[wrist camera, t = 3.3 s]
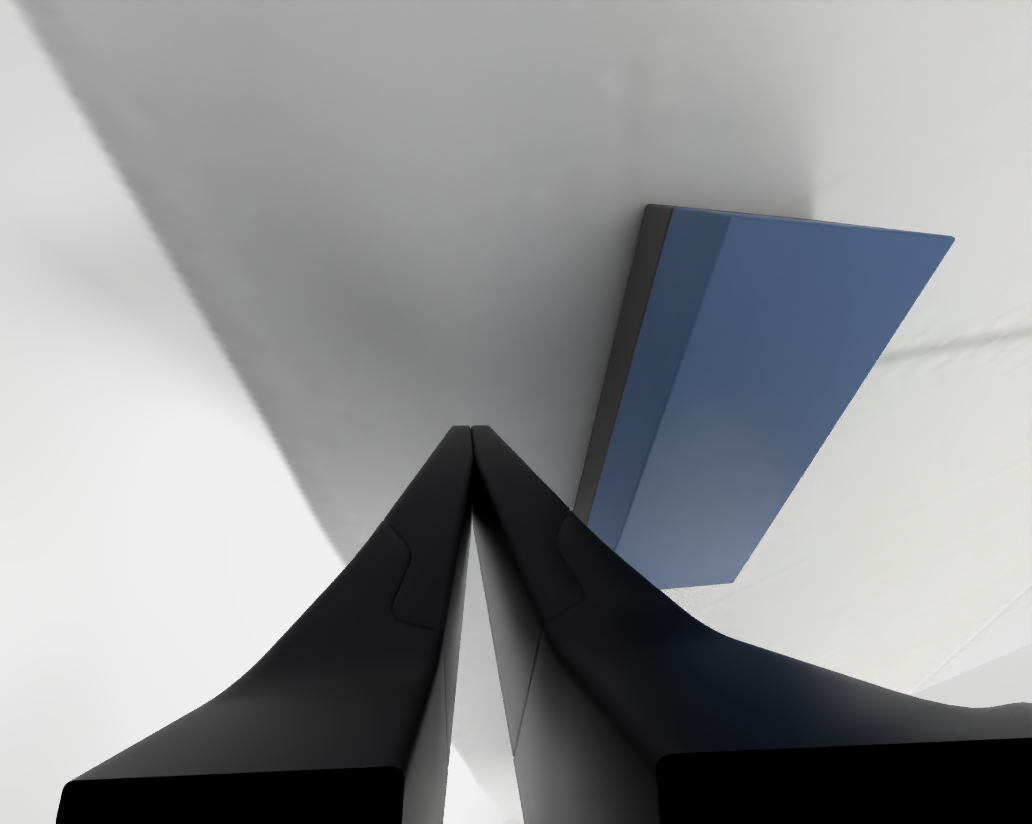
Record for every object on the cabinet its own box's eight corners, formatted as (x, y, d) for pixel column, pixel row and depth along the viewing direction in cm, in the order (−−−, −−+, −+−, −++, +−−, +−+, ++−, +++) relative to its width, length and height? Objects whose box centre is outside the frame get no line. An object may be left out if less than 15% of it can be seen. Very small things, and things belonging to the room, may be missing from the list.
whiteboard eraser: (683, 512, 14) (733, 583, 12) (571, 518, 13) (598, 596, 11) (817, 220, 9) (959, 237, 6) (645, 203, 8) (731, 214, 6)
